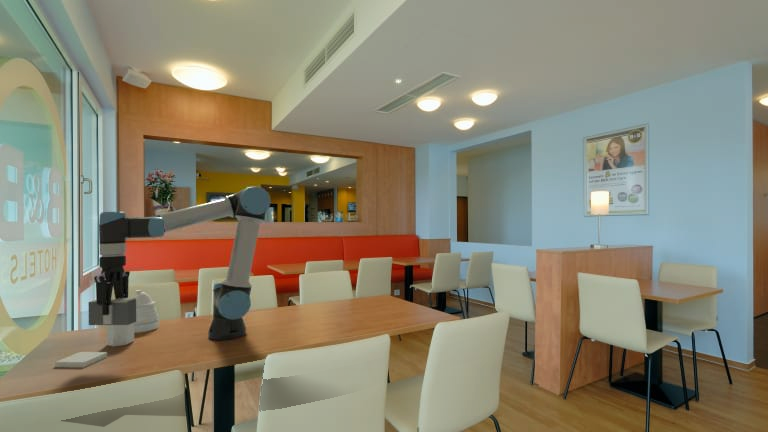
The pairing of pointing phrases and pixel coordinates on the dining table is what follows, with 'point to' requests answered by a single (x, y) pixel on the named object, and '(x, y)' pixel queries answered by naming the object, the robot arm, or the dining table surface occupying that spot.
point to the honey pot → (145, 313)
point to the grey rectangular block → (114, 312)
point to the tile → (81, 359)
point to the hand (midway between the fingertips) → (113, 321)
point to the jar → (120, 334)
